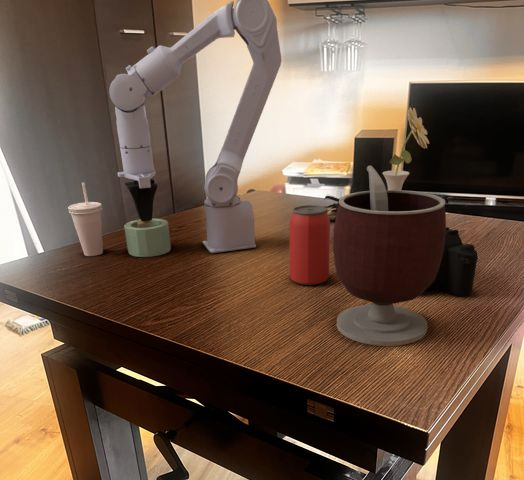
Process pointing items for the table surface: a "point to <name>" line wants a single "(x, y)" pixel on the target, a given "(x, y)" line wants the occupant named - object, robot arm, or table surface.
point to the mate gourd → (387, 259)
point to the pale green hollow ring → (148, 238)
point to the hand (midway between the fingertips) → (145, 219)
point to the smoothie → (88, 225)
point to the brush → (145, 224)
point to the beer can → (309, 245)
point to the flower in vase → (406, 152)
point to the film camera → (456, 266)
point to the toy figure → (332, 207)
